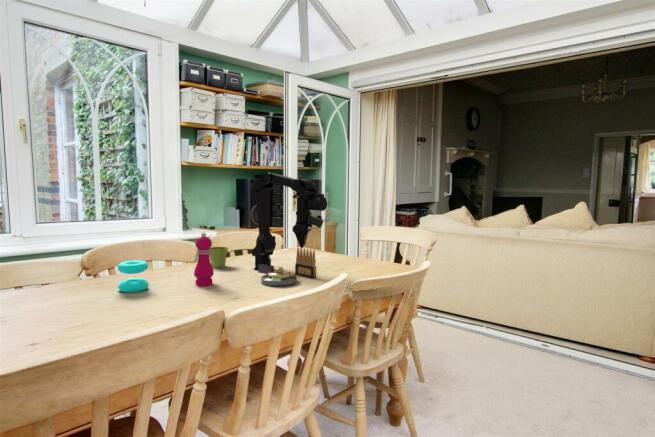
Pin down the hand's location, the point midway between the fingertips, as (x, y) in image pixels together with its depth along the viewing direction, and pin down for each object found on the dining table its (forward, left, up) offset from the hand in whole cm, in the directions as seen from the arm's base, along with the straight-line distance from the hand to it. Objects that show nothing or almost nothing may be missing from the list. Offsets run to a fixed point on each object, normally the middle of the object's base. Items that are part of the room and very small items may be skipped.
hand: (302, 246), depth 171 cm
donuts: (-58, -28, -13) cm, 66 cm away
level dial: (-11, -8, -11) cm, 17 cm away
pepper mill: (-36, -17, -13) cm, 42 cm away
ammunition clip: (+1, +1, -13) cm, 13 cm away
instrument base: (-8, -10, -13) cm, 18 cm away
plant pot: (-41, +14, -13) cm, 45 cm away
